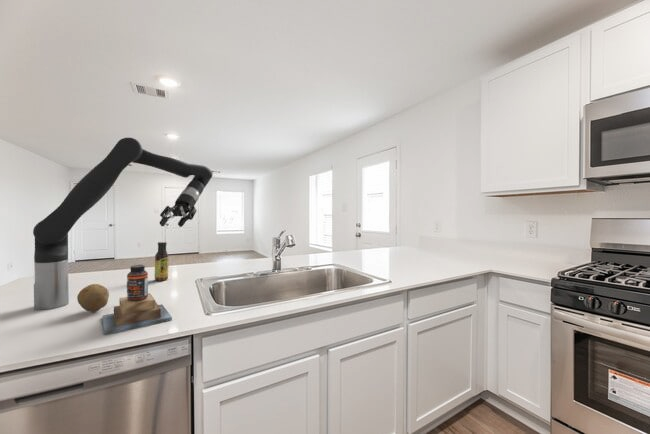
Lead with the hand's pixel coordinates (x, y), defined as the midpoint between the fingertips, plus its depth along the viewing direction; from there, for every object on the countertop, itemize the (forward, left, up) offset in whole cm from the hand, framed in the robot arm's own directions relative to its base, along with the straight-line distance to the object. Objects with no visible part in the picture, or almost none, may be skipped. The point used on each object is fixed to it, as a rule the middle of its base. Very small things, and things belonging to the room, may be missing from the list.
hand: (170, 225), depth 117 cm
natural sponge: (-25, 0, -31) cm, 40 cm away
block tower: (-14, -18, -31) cm, 38 cm away
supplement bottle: (-14, -18, -24) cm, 33 cm away
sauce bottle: (+3, +35, -31) cm, 47 cm away
